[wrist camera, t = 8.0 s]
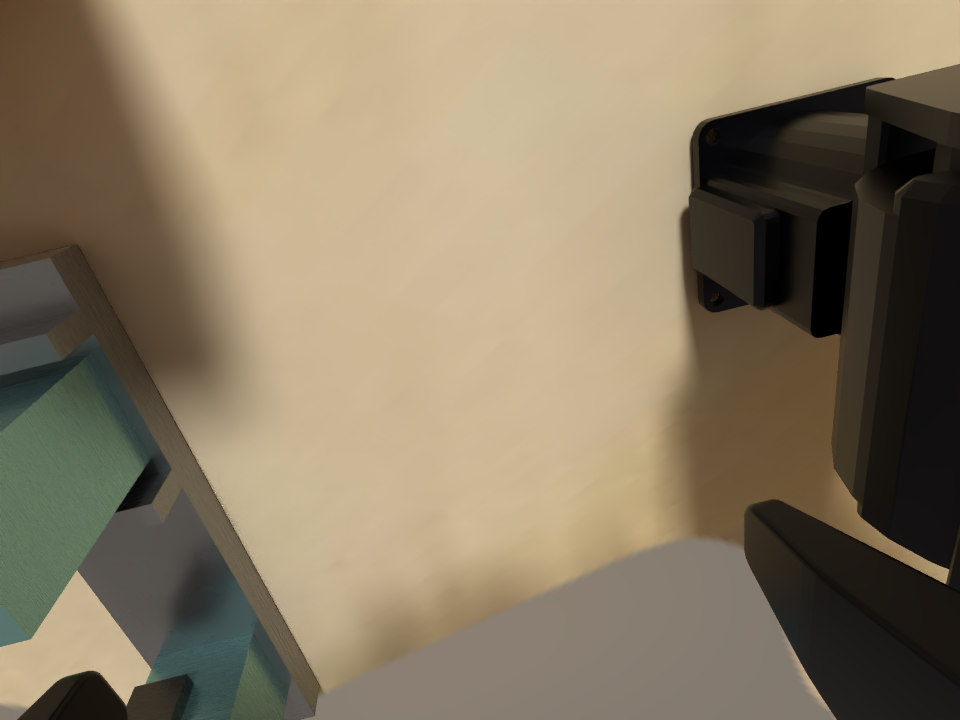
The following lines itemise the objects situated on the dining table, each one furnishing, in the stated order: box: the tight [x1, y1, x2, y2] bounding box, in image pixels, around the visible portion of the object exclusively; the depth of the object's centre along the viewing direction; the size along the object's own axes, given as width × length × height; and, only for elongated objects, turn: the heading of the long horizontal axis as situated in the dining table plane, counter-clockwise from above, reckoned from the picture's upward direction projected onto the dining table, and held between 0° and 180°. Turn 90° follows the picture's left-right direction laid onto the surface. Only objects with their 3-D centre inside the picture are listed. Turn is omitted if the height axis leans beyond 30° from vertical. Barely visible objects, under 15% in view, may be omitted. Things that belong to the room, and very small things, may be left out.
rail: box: [0, 244, 319, 720], centre depth 19 cm, size 5×22×8 cm, turn 12°
